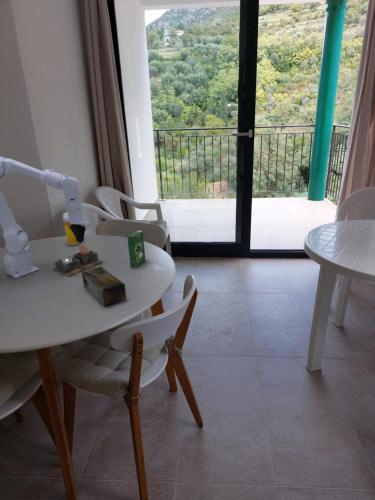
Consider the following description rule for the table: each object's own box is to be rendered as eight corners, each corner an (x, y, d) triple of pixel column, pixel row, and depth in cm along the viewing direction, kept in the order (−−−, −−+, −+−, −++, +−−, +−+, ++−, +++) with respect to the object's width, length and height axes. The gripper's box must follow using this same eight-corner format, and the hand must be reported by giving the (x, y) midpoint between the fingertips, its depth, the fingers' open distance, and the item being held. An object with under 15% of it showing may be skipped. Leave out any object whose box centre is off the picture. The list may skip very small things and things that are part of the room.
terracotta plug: (84, 257, 136) (82, 249, 135) (78, 255, 139) (77, 247, 137) (92, 254, 139) (91, 246, 138) (86, 252, 142) (85, 244, 140)
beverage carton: (104, 280, 125) (101, 263, 122) (128, 300, 110) (125, 282, 108) (83, 286, 120) (80, 270, 118) (105, 308, 106) (102, 290, 103)
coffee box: (140, 259, 140) (137, 229, 136) (146, 260, 139) (143, 230, 135) (130, 267, 134) (126, 236, 129) (136, 268, 133) (132, 236, 128)
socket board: (69, 277, 128) (67, 267, 127) (52, 269, 135) (50, 260, 134) (103, 262, 139) (101, 253, 138) (85, 256, 147) (84, 247, 145)
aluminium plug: (66, 270, 131) (65, 261, 130) (61, 267, 134) (59, 259, 132) (75, 266, 134) (74, 258, 133) (69, 264, 136) (68, 256, 135)
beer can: (78, 245, 160) (73, 215, 154) (66, 246, 160) (60, 215, 154) (82, 241, 165) (77, 211, 160) (70, 241, 165) (65, 212, 160)
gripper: (94, 208, 129) (100, 242, 134) (73, 204, 138) (78, 235, 143) (78, 213, 124) (85, 247, 129) (57, 208, 133) (63, 240, 138)
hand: (80, 241), depth 136 cm, fingers closed
